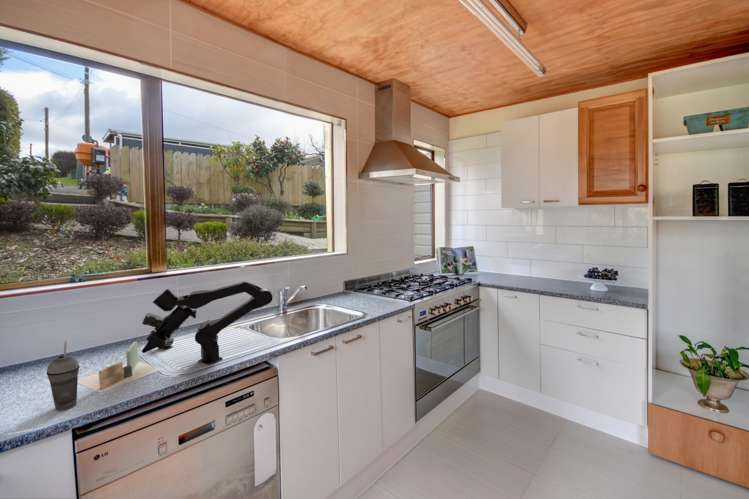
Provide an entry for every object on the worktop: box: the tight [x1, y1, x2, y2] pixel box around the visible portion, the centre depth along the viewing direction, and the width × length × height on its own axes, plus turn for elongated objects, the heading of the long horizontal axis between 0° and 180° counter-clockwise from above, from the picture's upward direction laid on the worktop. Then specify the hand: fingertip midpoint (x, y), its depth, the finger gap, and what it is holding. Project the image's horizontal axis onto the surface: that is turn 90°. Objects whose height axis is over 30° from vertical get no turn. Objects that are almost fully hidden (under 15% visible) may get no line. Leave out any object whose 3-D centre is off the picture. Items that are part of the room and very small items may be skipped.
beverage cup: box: [45, 340, 80, 412], centre depth 104 cm, size 7×7×20 cm
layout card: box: [77, 360, 159, 394], centre depth 126 cm, size 17×20×1 cm
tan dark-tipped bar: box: [98, 361, 132, 389], centre depth 120 cm, size 11×2×6 cm, turn 167°
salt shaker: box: [160, 336, 175, 351], centre depth 152 cm, size 6×6×12 cm
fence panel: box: [125, 340, 139, 371], centre depth 131 cm, size 11×1×8 cm, turn 22°
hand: (142, 352), depth 130 cm, fingers closed
